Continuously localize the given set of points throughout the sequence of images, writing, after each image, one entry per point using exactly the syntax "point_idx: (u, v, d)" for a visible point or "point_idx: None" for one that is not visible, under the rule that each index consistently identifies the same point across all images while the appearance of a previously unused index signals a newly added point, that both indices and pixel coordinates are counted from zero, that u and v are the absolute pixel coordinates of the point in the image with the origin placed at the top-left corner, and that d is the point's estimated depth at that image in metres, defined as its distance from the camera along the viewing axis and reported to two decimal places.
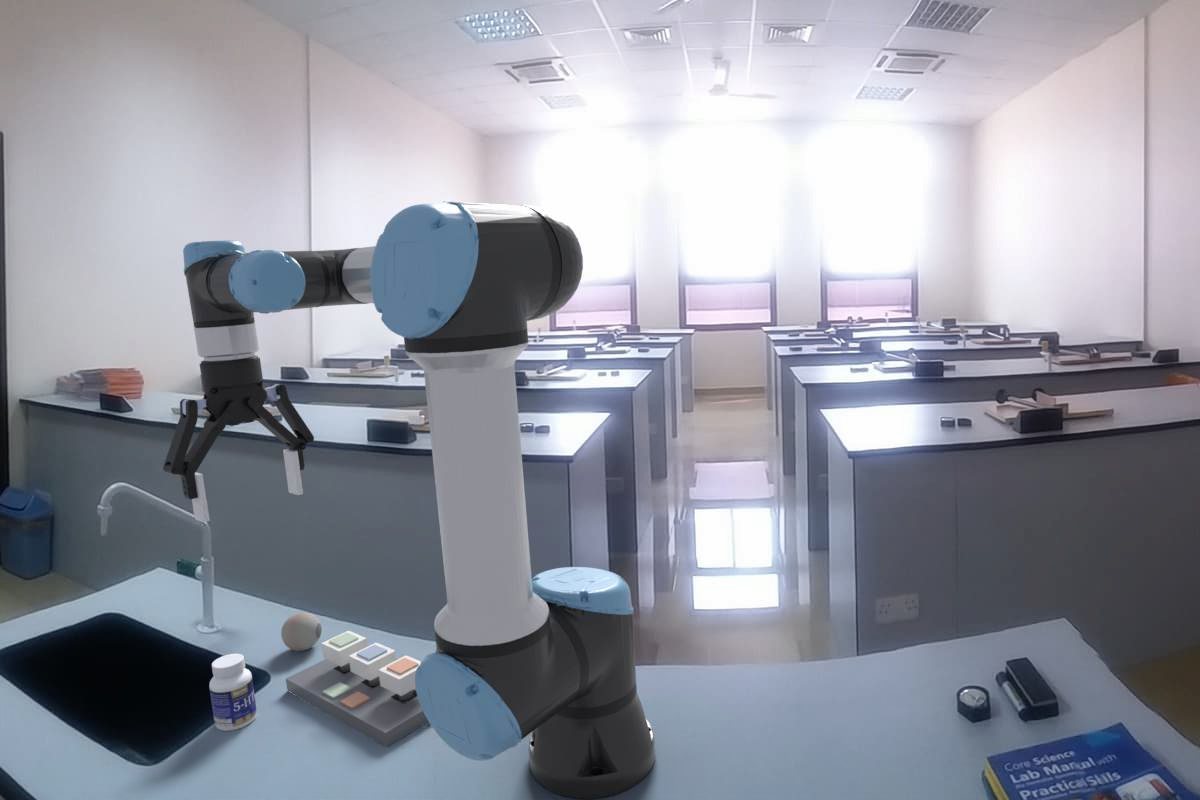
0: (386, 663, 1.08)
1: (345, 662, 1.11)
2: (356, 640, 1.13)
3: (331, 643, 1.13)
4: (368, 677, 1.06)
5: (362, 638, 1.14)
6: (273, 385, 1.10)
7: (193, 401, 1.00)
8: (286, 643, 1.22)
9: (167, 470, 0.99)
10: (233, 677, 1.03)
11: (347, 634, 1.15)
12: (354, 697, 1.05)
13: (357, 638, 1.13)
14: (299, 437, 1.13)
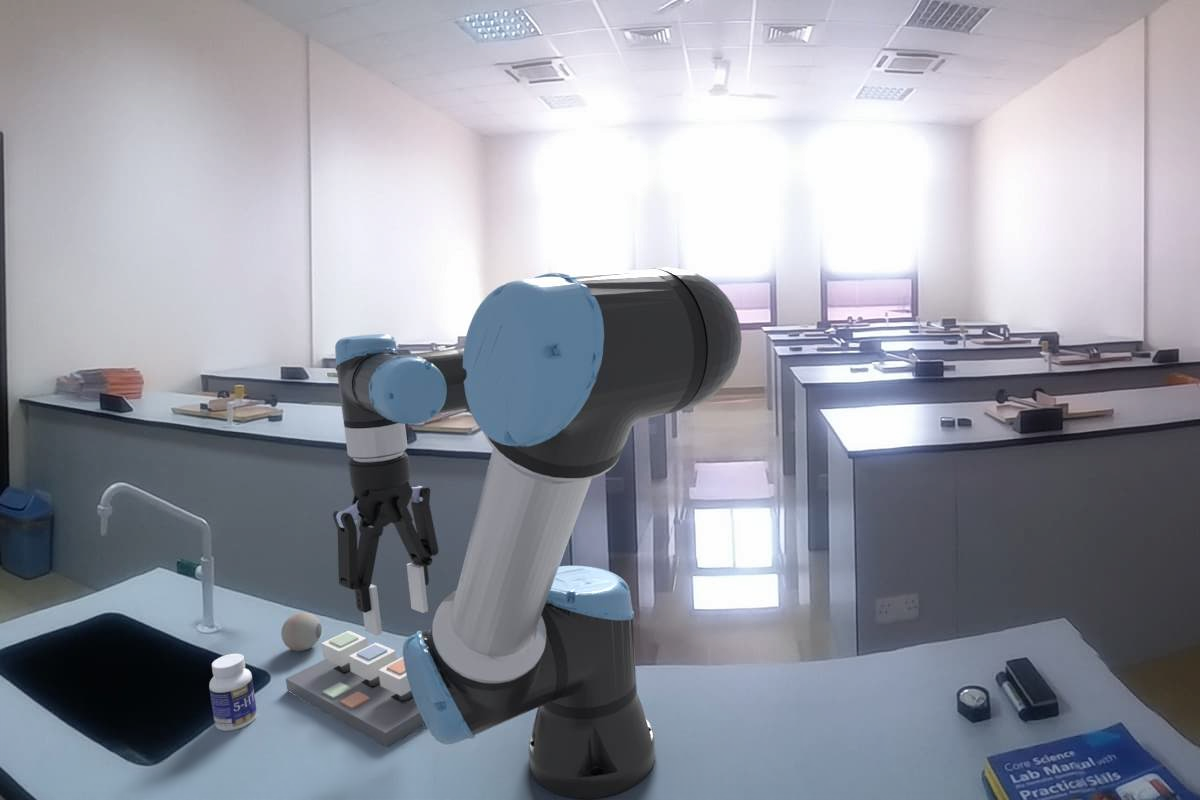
0: (386, 663, 1.08)
1: (345, 662, 1.11)
2: (356, 640, 1.13)
3: (331, 643, 1.13)
4: (368, 677, 1.06)
5: (362, 638, 1.14)
6: (417, 486, 1.05)
7: (347, 515, 0.95)
8: (286, 643, 1.22)
9: (344, 585, 0.97)
10: (233, 677, 1.03)
11: (347, 634, 1.15)
12: (354, 697, 1.05)
13: (357, 638, 1.13)
14: (424, 547, 1.06)
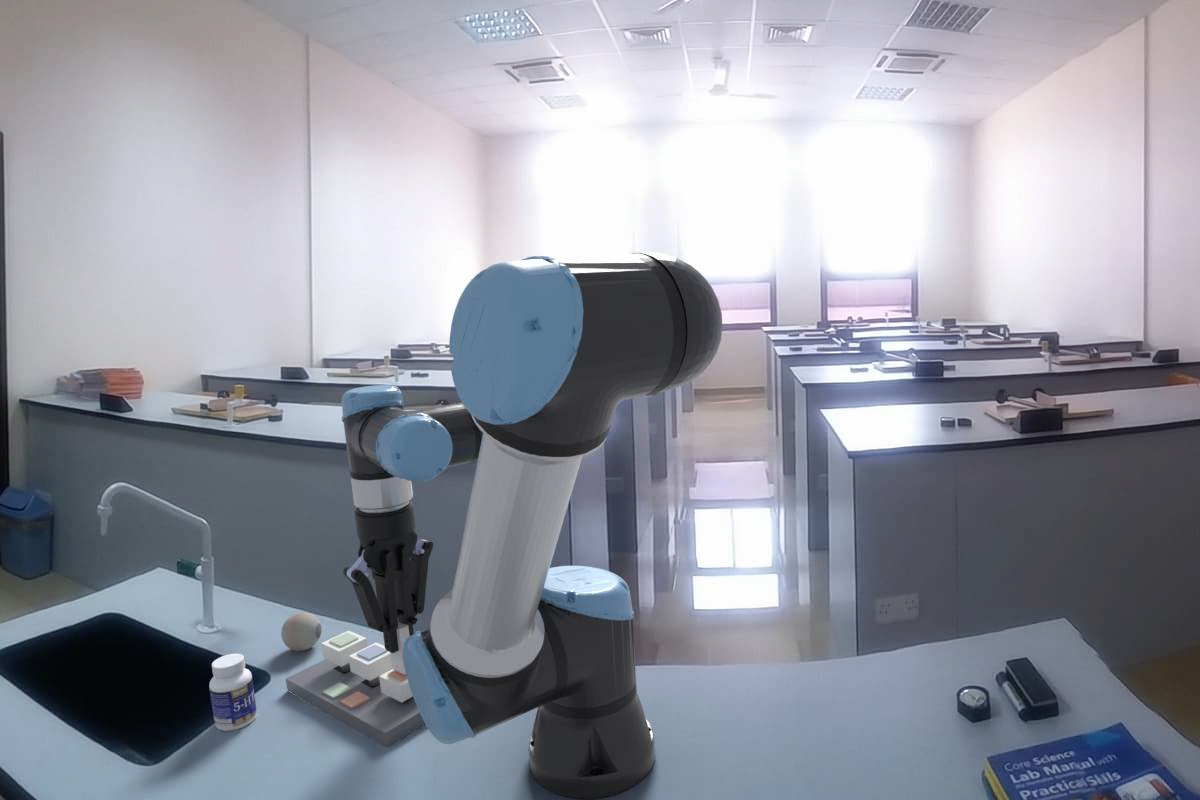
0: (386, 663, 1.08)
1: (345, 662, 1.11)
2: (356, 640, 1.13)
3: (331, 643, 1.13)
4: (368, 677, 1.06)
5: (362, 638, 1.14)
6: (422, 539, 1.06)
7: (357, 572, 0.97)
8: (286, 643, 1.22)
9: (373, 627, 1.01)
10: (233, 677, 1.03)
11: (347, 634, 1.15)
12: (354, 697, 1.05)
13: (357, 638, 1.13)
14: None
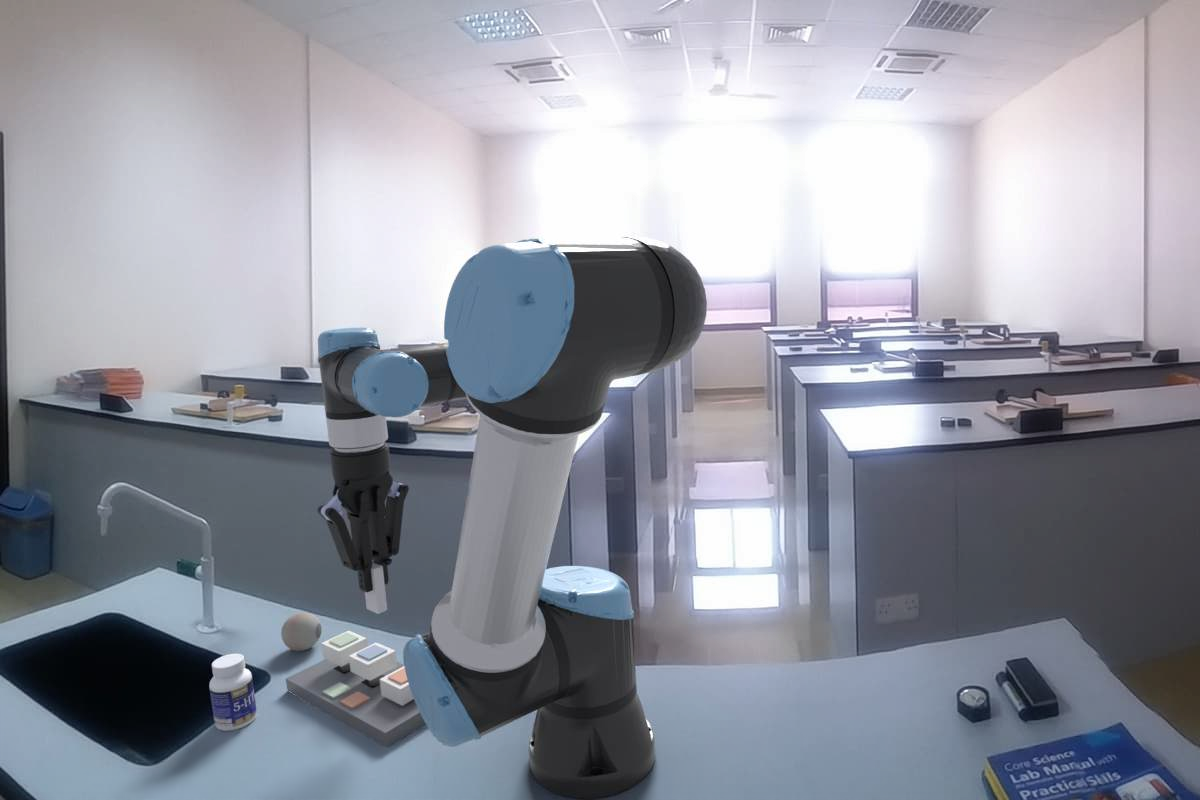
0: (386, 663, 1.08)
1: (345, 662, 1.11)
2: (356, 640, 1.13)
3: (331, 643, 1.13)
4: (368, 677, 1.06)
5: (362, 638, 1.14)
6: (398, 483, 1.08)
7: (331, 510, 0.98)
8: (286, 643, 1.22)
9: (347, 566, 1.02)
10: (233, 677, 1.03)
11: (347, 634, 1.15)
12: (354, 697, 1.05)
13: (357, 638, 1.13)
14: None
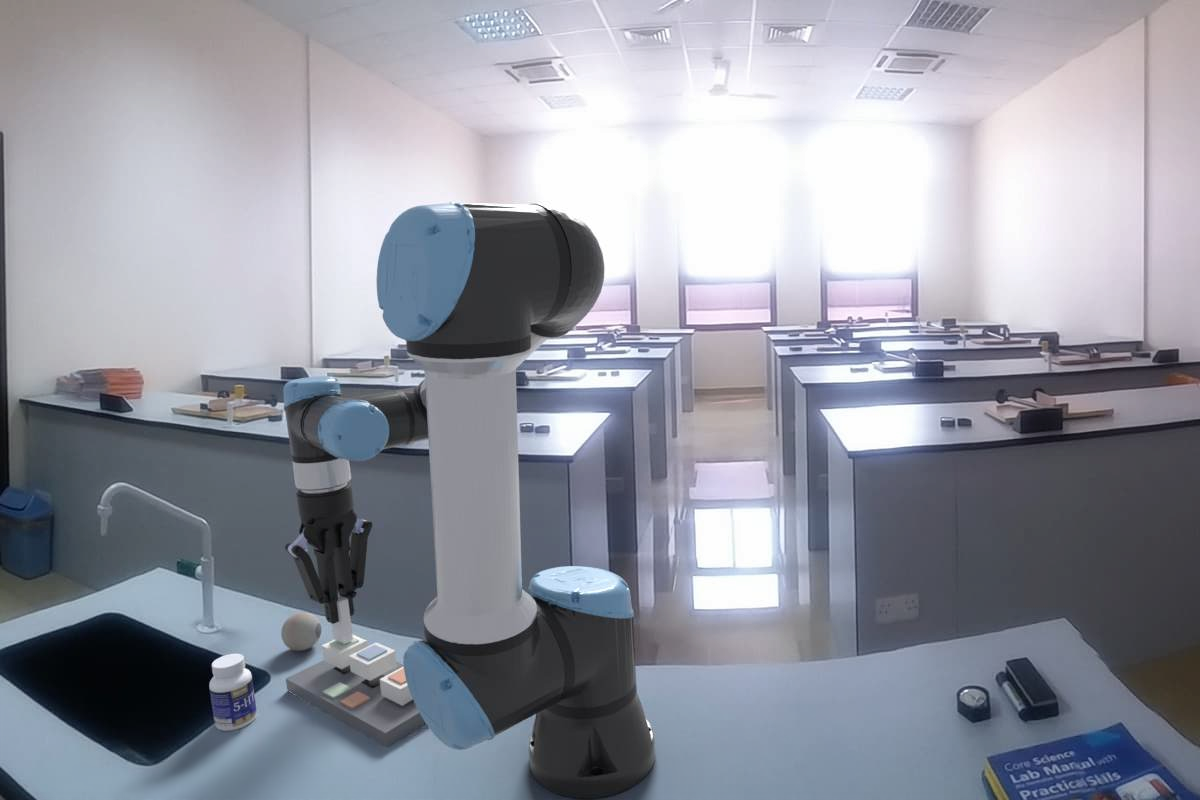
0: (386, 663, 1.08)
1: (345, 664, 1.11)
2: (356, 643, 1.13)
3: (332, 645, 1.13)
4: (368, 677, 1.06)
5: (362, 640, 1.14)
6: (362, 519, 1.15)
7: (297, 548, 1.05)
8: (286, 643, 1.22)
9: (314, 599, 1.09)
10: (233, 677, 1.03)
11: None
12: (354, 697, 1.05)
13: (357, 640, 1.13)
14: None
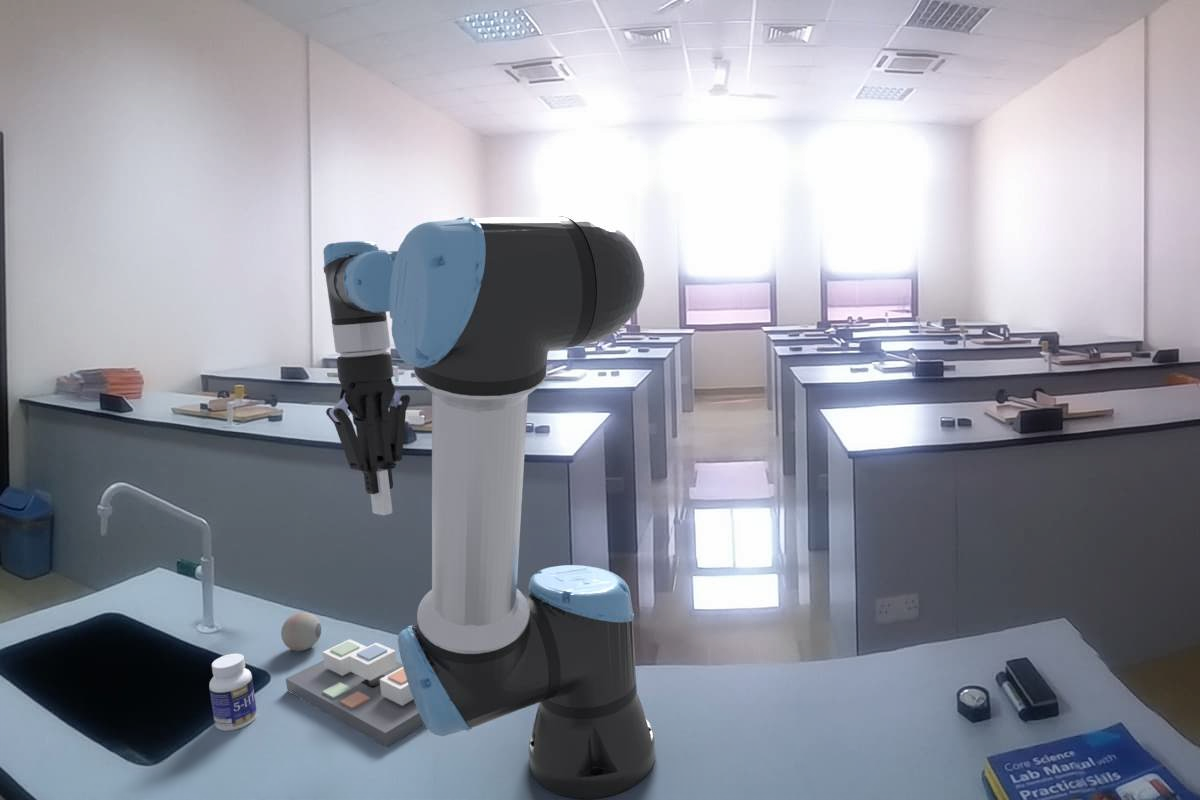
0: (386, 663, 1.08)
1: (346, 671, 1.11)
2: (357, 649, 1.13)
3: (332, 652, 1.13)
4: (368, 677, 1.06)
5: (363, 647, 1.14)
6: None
7: (339, 410, 1.05)
8: (286, 643, 1.22)
9: (355, 467, 1.09)
10: (233, 677, 1.03)
11: (348, 643, 1.15)
12: (354, 697, 1.05)
13: (358, 647, 1.14)
14: None
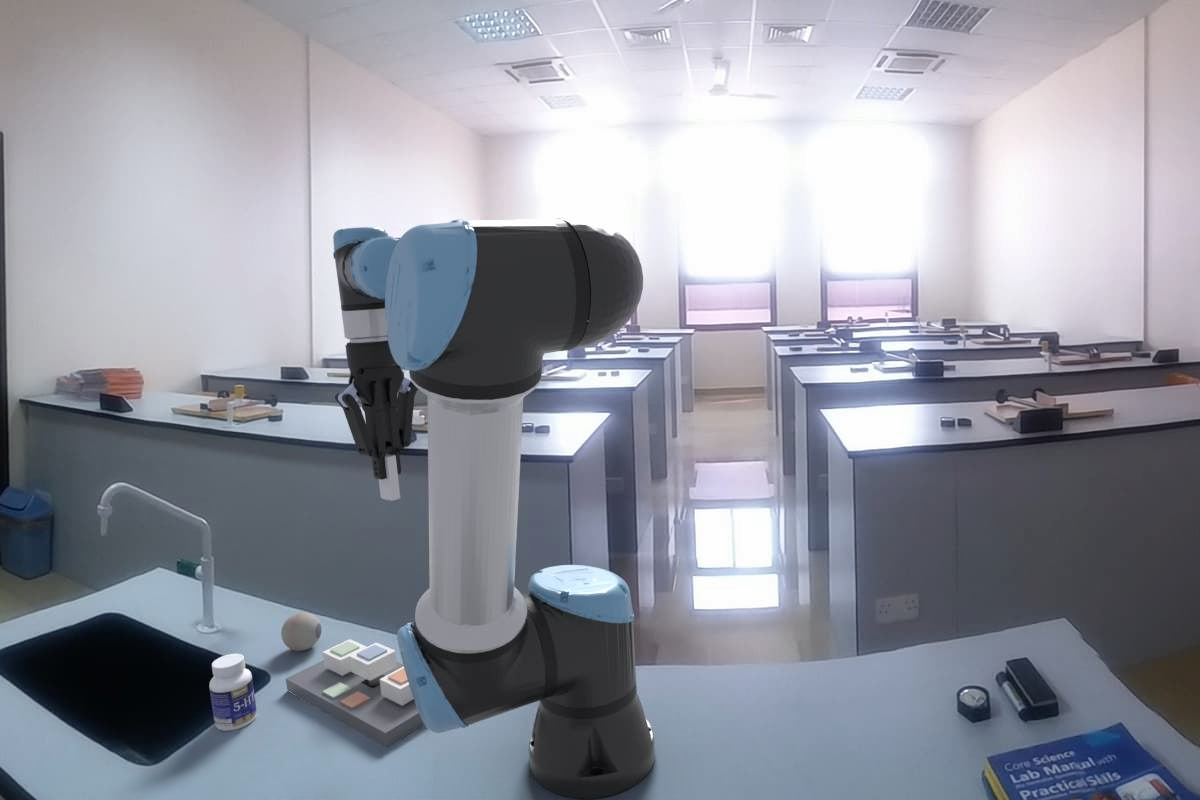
0: (386, 663, 1.08)
1: (346, 671, 1.11)
2: (357, 649, 1.13)
3: (332, 652, 1.13)
4: (368, 677, 1.06)
5: (363, 647, 1.14)
6: None
7: (347, 395, 1.05)
8: (286, 643, 1.22)
9: (363, 453, 1.09)
10: (233, 677, 1.03)
11: (348, 643, 1.15)
12: (354, 697, 1.05)
13: (358, 647, 1.14)
14: None
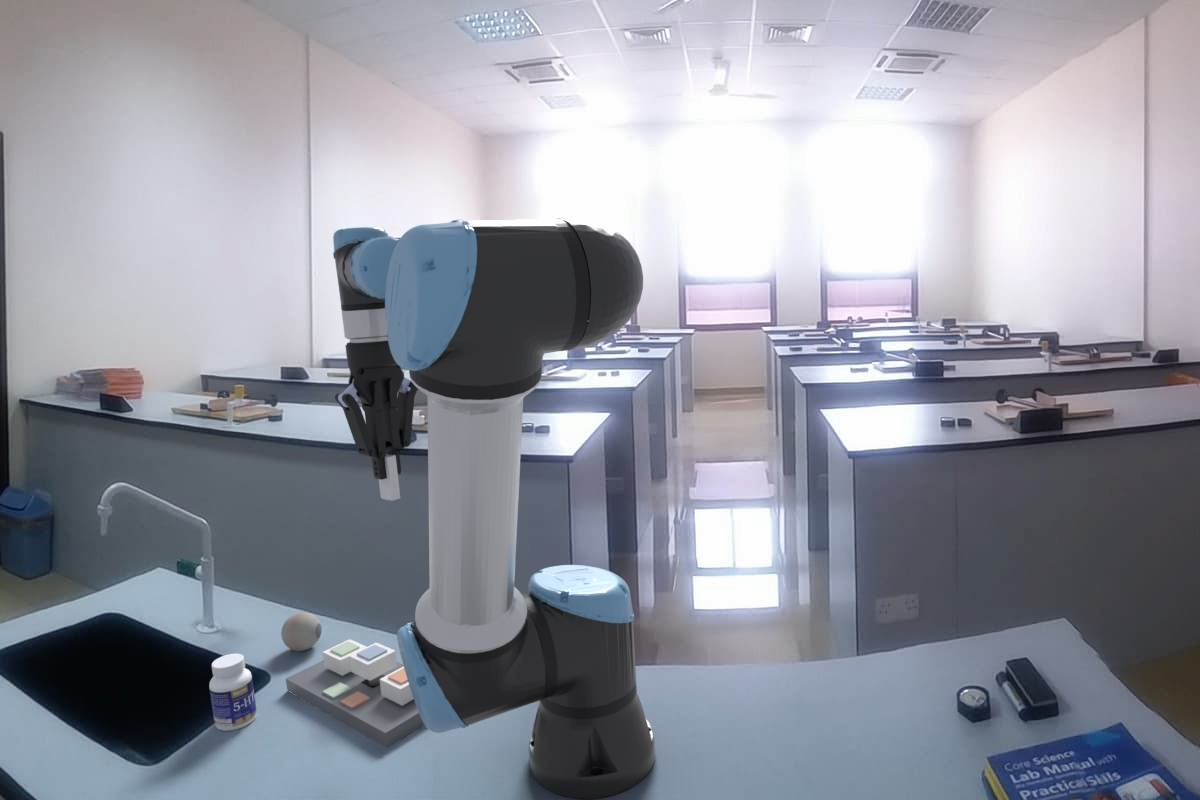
0: (386, 663, 1.08)
1: (346, 671, 1.11)
2: (357, 649, 1.13)
3: (332, 652, 1.13)
4: (368, 677, 1.06)
5: (363, 647, 1.14)
6: None
7: (347, 395, 1.05)
8: (286, 643, 1.22)
9: (363, 453, 1.09)
10: (233, 677, 1.03)
11: (348, 643, 1.15)
12: (354, 697, 1.05)
13: (358, 647, 1.14)
14: None
